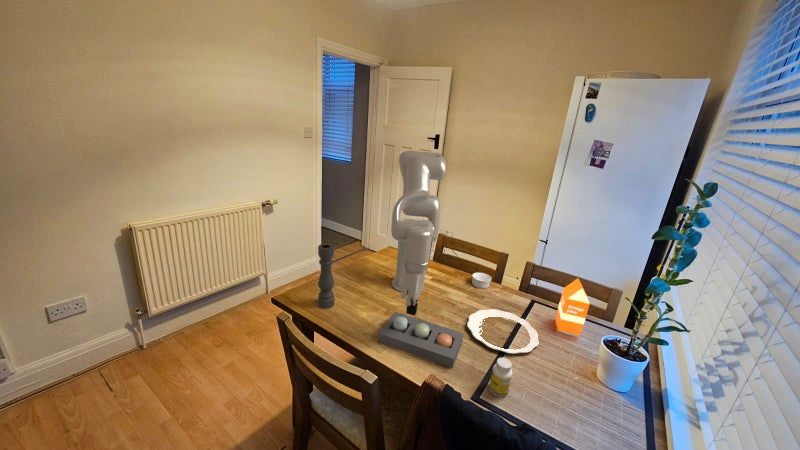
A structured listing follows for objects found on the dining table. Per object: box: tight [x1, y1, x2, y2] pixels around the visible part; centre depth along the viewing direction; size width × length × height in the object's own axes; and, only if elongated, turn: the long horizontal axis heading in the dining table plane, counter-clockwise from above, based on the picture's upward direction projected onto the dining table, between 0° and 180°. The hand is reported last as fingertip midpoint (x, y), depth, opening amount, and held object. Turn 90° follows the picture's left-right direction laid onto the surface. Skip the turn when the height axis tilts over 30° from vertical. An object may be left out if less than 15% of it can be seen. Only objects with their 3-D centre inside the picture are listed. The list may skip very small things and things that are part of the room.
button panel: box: [377, 311, 465, 369], centre depth 107 cm, size 14×26×4 cm, turn 67°
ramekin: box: [471, 272, 492, 289], centre depth 149 cm, size 9×9×4 cm
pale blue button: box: [393, 317, 407, 332], centre depth 109 cm, size 5×5×3 cm
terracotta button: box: [437, 334, 452, 349], centre depth 104 cm, size 5×5×3 cm
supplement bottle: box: [488, 357, 513, 398], centre depth 89 cm, size 5×5×10 cm
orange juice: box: [555, 278, 591, 336], centre depth 118 cm, size 8×9×20 cm
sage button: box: [415, 323, 429, 340], centre depth 107 cm, size 5×5×3 cm
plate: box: [466, 308, 540, 355], centre depth 116 cm, size 25×25×2 cm
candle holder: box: [317, 243, 335, 310], centre depth 121 cm, size 6×6×25 cm
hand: (411, 313), depth 107 cm, fingers closed
